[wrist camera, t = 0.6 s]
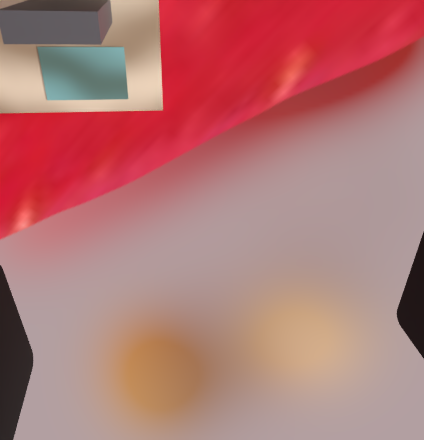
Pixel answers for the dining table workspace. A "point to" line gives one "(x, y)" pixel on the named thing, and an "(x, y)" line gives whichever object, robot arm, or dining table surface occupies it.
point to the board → (88, 68)
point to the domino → (56, 22)
